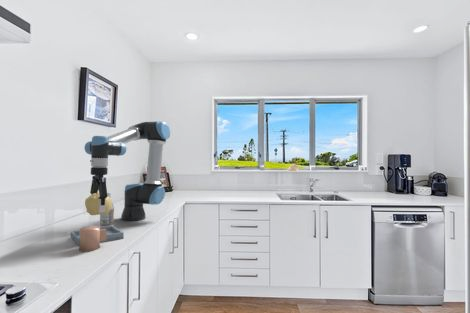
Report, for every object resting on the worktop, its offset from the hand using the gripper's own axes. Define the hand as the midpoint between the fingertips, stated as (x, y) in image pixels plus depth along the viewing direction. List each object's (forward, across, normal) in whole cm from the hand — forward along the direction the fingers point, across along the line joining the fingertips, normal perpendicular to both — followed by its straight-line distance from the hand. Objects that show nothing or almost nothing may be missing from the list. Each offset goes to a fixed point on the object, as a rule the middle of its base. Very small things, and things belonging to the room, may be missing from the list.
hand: (97, 209), depth 136 cm
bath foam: (+14, -15, +9) cm, 23 cm away
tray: (+14, 0, 0) cm, 14 cm away
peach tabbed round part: (+14, +14, -6) cm, 21 cm away
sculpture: (+2, 0, 0) cm, 2 cm away
